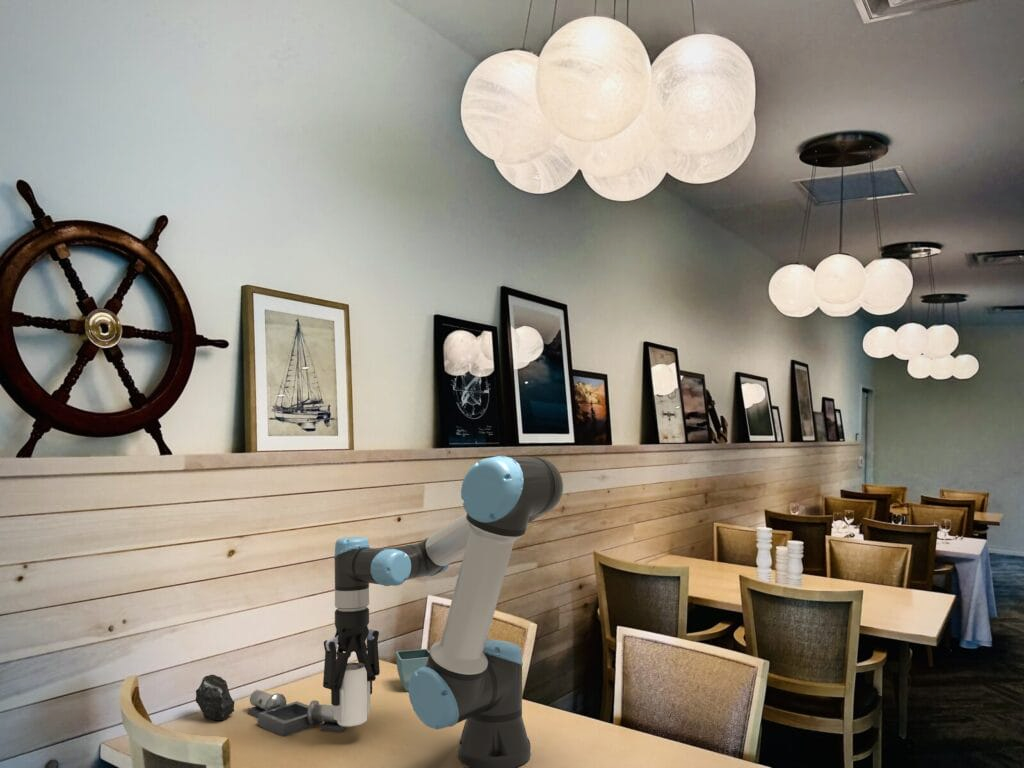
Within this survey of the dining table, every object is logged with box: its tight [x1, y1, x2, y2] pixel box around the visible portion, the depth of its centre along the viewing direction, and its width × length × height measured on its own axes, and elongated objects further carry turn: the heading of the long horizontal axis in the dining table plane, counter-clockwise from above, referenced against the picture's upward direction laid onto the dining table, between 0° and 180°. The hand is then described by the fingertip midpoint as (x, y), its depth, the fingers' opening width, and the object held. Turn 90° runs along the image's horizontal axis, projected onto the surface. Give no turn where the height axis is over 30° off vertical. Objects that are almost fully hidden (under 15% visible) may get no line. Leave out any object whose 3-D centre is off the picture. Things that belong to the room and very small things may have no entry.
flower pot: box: [395, 648, 430, 692], centre depth 197 cm, size 9×9×9 cm
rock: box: [195, 674, 235, 721], centre depth 175 cm, size 8×7×10 cm
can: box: [337, 662, 368, 728], centre depth 162 cm, size 6×6×12 cm
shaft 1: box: [247, 689, 287, 719], centre depth 177 cm, size 9×5×6 cm, turn 50°
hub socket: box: [257, 701, 324, 737], centre depth 171 cm, size 10×10×3 cm
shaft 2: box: [307, 699, 347, 733], centre depth 169 cm, size 9×5×6 cm, turn 80°
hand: (352, 715), depth 162 cm, fingers closed on can, 6 cm apart
